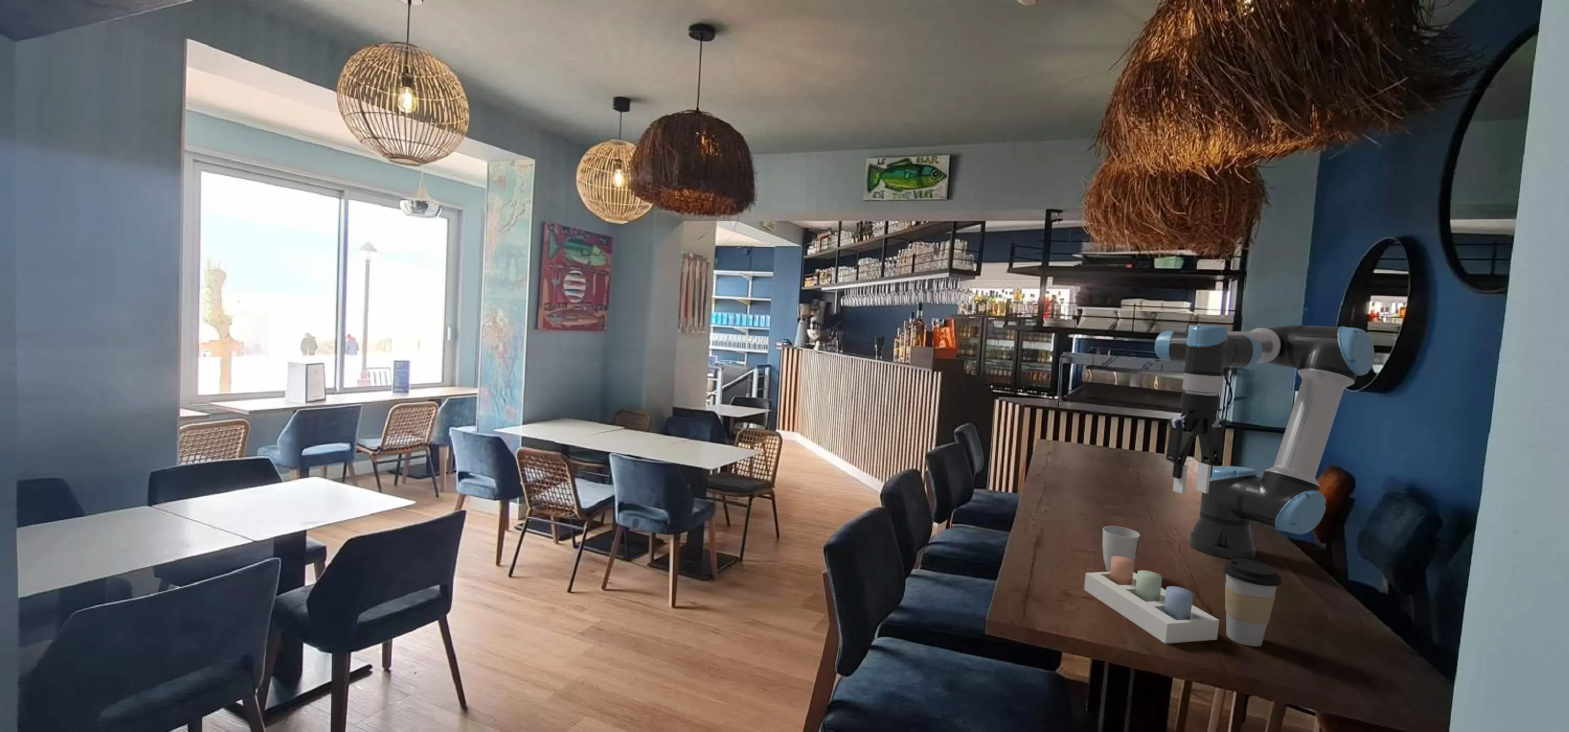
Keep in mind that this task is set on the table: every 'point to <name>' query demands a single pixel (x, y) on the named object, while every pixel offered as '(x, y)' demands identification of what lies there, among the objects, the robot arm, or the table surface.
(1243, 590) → the coffee cup
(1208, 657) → the table surface
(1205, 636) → the button board
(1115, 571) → the terracotta cap
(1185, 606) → the slate cap
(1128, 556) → the cup
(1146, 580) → the sage cap
